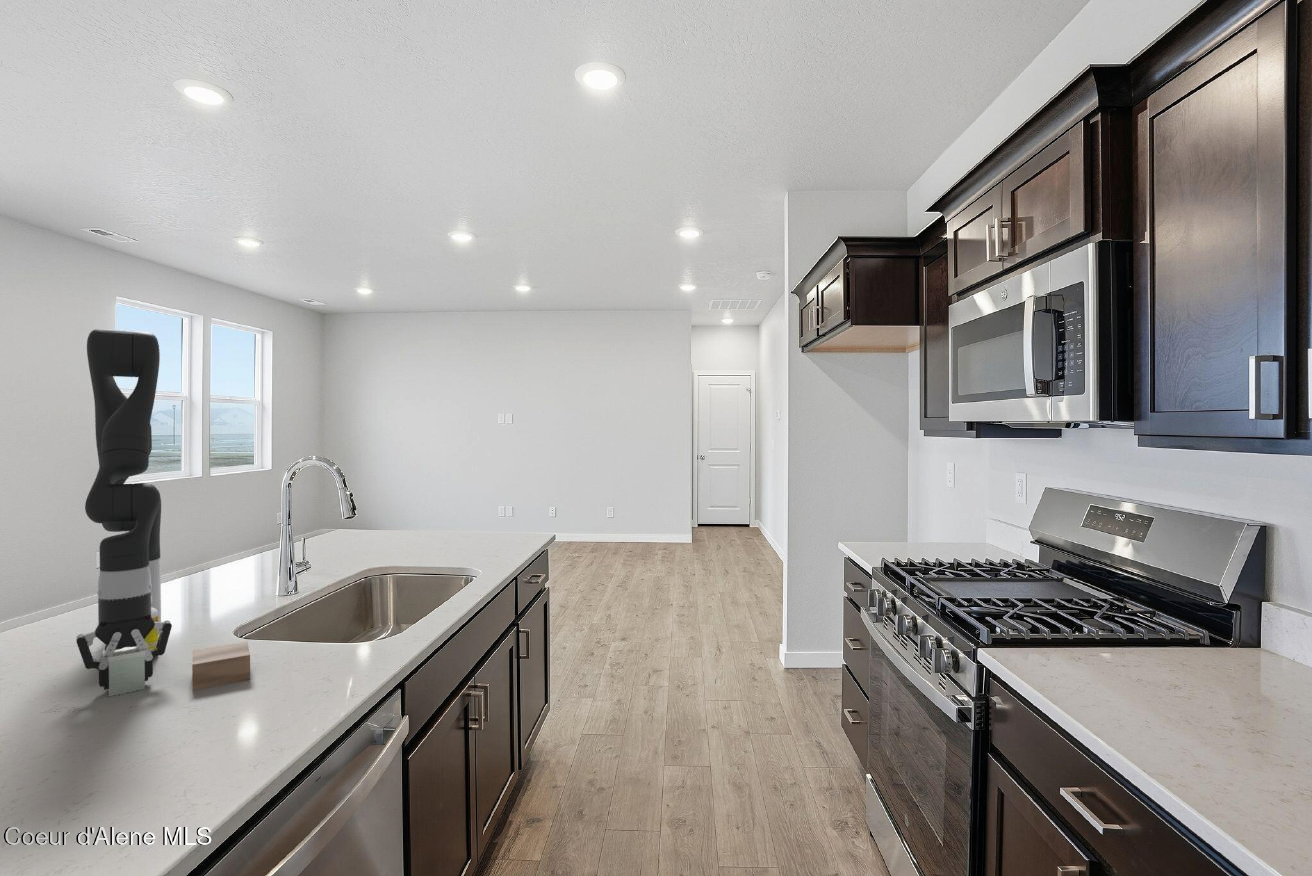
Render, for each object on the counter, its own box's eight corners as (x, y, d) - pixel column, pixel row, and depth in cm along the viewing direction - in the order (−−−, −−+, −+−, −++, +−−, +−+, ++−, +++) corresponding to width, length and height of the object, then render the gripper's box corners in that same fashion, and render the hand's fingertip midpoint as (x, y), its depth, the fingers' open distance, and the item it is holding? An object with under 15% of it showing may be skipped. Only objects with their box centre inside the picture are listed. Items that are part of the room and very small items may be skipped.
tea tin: (107, 688, 120) (106, 649, 119) (143, 680, 123) (142, 643, 123) (108, 696, 116) (108, 657, 116) (145, 688, 119) (145, 650, 119)
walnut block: (193, 675, 126) (192, 650, 126) (247, 665, 131) (247, 641, 131) (192, 691, 119) (192, 664, 119) (250, 680, 124) (250, 654, 124)
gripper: (171, 582, 127) (171, 668, 127) (72, 594, 117) (73, 688, 117) (176, 589, 121) (176, 679, 121) (72, 603, 111) (74, 701, 112)
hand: (126, 683), depth 119 cm, fingers closed on tea tin, 5 cm apart
